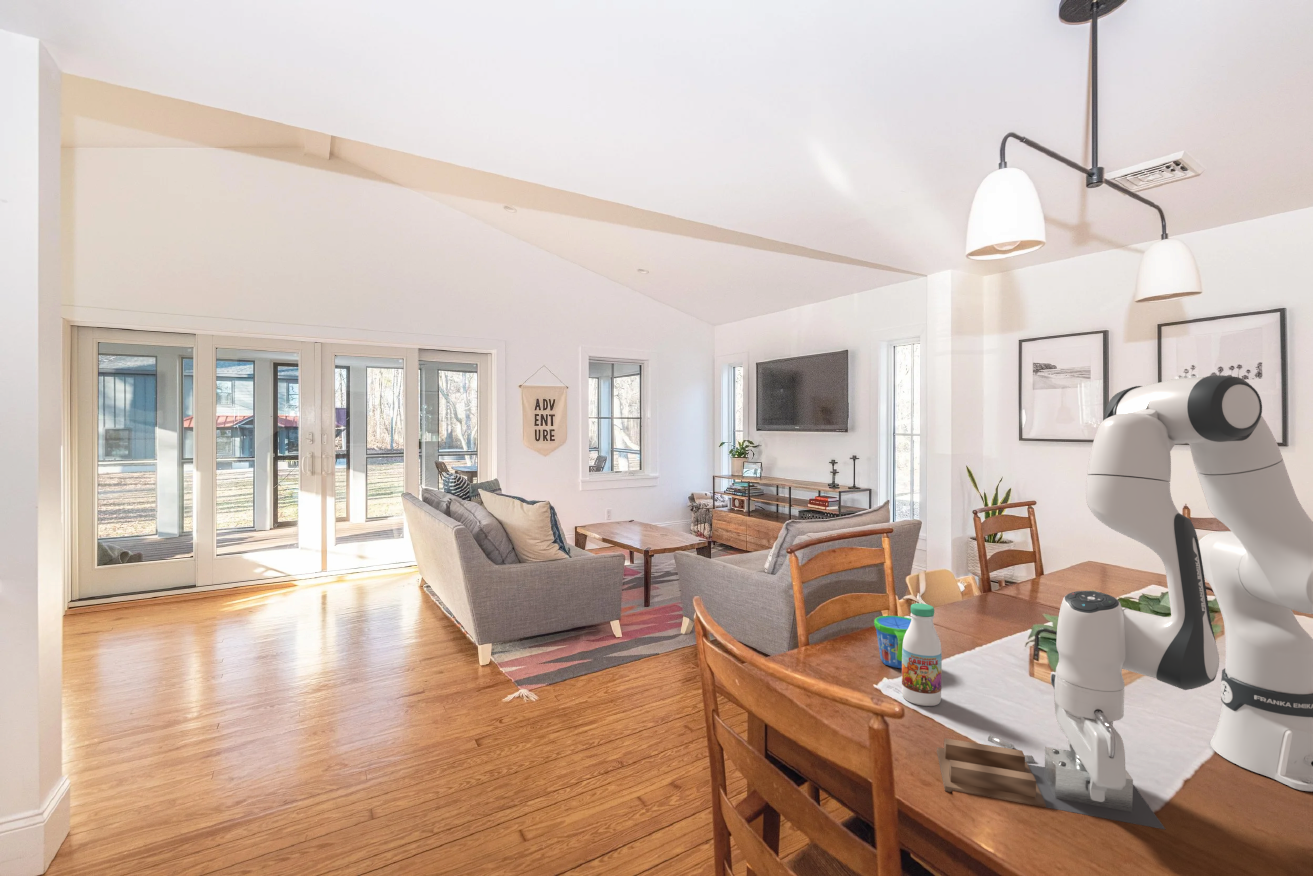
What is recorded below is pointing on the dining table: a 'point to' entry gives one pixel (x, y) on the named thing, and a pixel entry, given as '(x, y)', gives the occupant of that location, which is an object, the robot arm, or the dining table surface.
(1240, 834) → the dining table surface
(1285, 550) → the robot arm
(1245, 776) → the dining table surface
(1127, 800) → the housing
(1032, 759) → the pin
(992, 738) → the pin
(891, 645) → the snack cup
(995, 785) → the stand
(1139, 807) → the bench mat
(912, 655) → the milk bottle
